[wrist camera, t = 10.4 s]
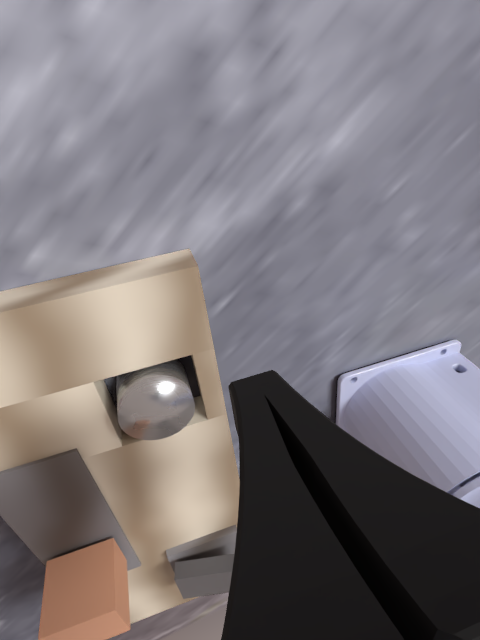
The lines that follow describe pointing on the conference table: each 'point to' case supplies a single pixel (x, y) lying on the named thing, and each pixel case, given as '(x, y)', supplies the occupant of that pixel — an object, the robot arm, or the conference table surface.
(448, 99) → the conference table surface
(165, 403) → the push button
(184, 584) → the rocker switch
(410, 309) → the conference table surface
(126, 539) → the control panel
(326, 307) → the conference table surface
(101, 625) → the slide paddle
